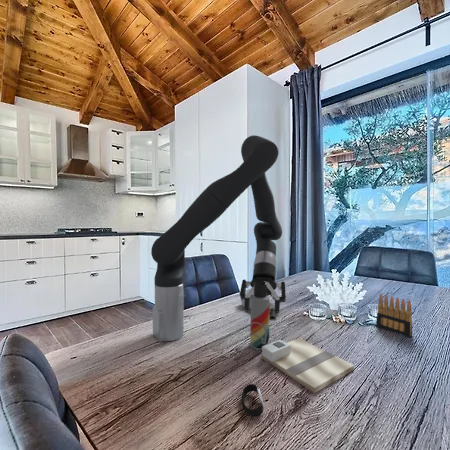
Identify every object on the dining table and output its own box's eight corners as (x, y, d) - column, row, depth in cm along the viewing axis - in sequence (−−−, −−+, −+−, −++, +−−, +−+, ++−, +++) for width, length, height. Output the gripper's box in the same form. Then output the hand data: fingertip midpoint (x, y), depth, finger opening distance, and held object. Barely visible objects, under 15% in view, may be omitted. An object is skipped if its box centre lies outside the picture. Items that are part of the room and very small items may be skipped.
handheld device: (267, 322, 100) (267, 310, 100) (238, 306, 117) (238, 295, 117) (286, 317, 105) (286, 305, 104) (256, 302, 122) (256, 292, 122)
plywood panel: (314, 393, 61) (314, 387, 61) (260, 357, 75) (260, 352, 75) (354, 369, 70) (354, 364, 70) (299, 341, 84) (299, 337, 84)
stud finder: (272, 361, 71) (272, 351, 71) (262, 355, 74) (262, 345, 74) (290, 354, 75) (290, 344, 75) (279, 347, 78) (280, 338, 78)
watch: (268, 419, 53) (268, 401, 53) (244, 420, 53) (244, 403, 53) (259, 393, 61) (259, 377, 61) (239, 394, 61) (239, 378, 60)
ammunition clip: (412, 336, 89) (413, 300, 88) (410, 337, 87) (411, 301, 87) (378, 325, 97) (379, 292, 97) (375, 326, 96) (377, 293, 95)
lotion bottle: (257, 352, 78) (257, 284, 77) (246, 343, 83) (247, 279, 82) (272, 347, 81) (273, 282, 80) (261, 339, 86) (262, 277, 85)
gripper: (286, 274, 93) (285, 320, 82) (245, 272, 96) (239, 316, 85) (286, 262, 87) (285, 309, 77) (242, 260, 91) (236, 305, 80)
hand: (261, 312), depth 81 cm, fingers open, 8 cm apart
